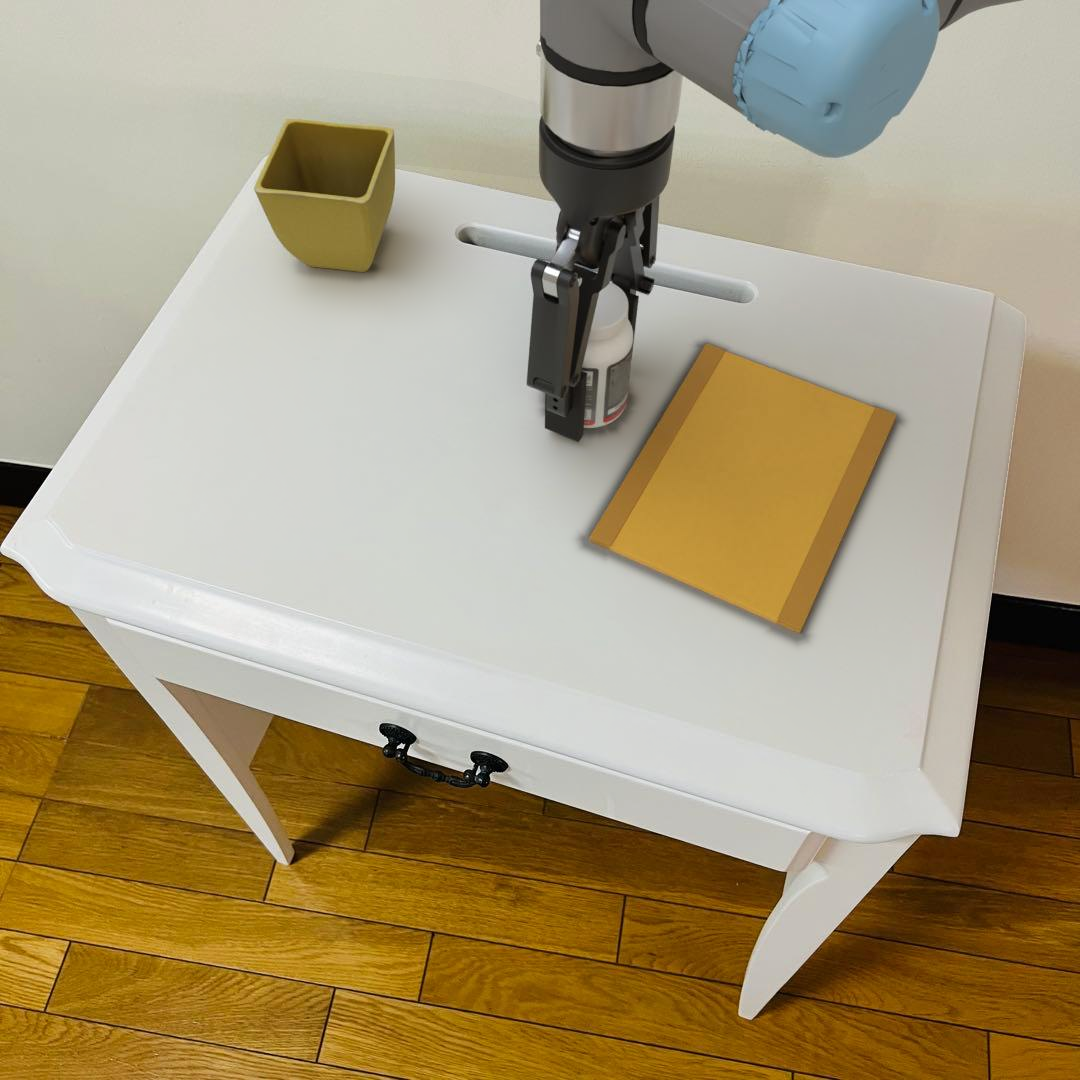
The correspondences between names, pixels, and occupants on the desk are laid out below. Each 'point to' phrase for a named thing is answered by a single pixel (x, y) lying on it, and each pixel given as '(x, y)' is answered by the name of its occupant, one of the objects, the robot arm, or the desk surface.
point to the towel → (747, 485)
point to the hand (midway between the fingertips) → (589, 393)
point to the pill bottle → (608, 358)
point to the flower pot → (329, 191)
